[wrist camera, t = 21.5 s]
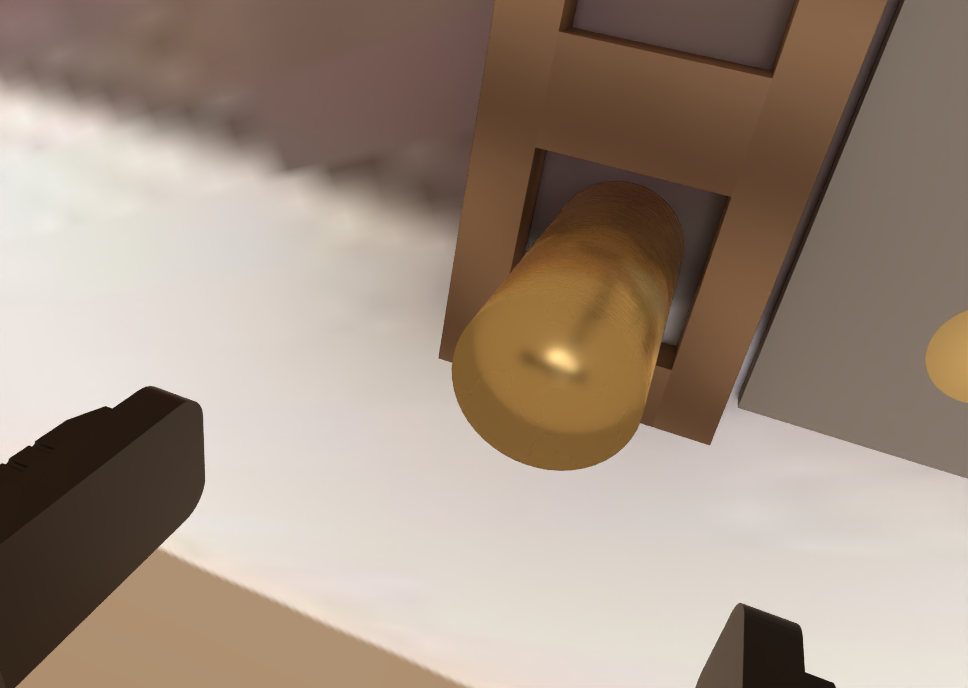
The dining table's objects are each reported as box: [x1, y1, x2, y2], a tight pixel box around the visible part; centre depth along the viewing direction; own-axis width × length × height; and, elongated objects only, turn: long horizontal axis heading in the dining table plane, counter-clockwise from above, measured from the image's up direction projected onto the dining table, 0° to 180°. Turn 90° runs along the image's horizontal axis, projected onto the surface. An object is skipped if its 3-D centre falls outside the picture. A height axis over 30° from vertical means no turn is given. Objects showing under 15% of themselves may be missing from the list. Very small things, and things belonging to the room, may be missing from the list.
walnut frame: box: [439, 0, 888, 445], centre depth 20 cm, size 18×9×2 cm, turn 170°
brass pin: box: [452, 181, 684, 471], centre depth 19 cm, size 4×4×9 cm
